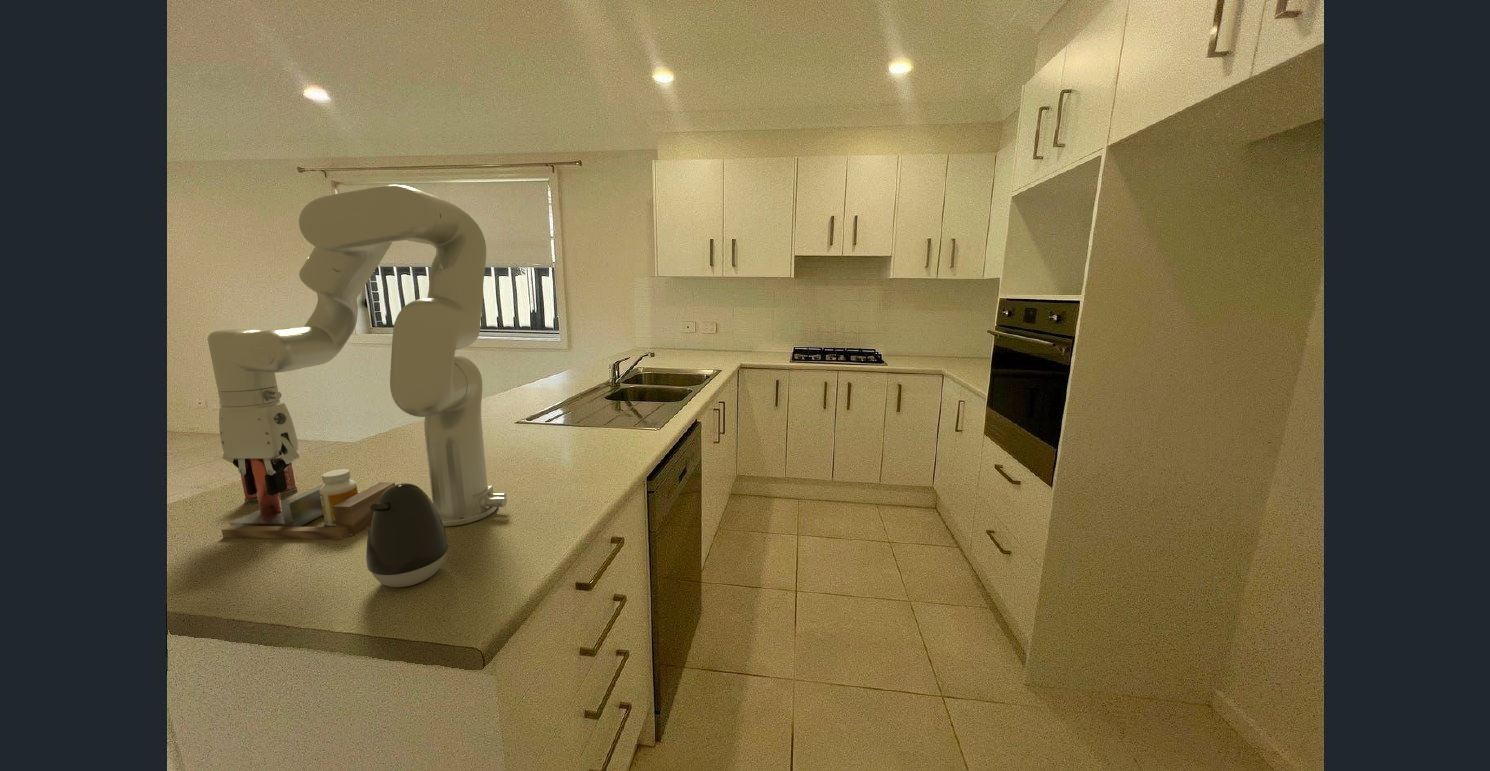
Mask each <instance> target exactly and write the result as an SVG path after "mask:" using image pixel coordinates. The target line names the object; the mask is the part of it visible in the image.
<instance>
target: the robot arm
mask: <svg viewBox="0 0 1490 771" xmlns="http://www.w3.org/2000/svg"><path fill="white" fill-rule="evenodd" d="M298 227H299V230H300V233H301V235H302V236H303V238H304V239H305V240H306V241H307V242H308V243H309V244H311V245H312V246H313V247H314V248H313V249H312V251H311V253H310V254H309V256H308V258H307V259H306V260H305V262H304V263H303V265H302V267H301V268H300V270H299V273H298V276H299V279H300V281H301V282H302V283H303V284H304V285H305V286H306V287H307V288H308V289H311V291H313V292H315V293H316V296H317V303H316V306H315V308H314V310H313V311H312V313H311V315H310V317H309V319H307V321H306V323H305V324H304V325H303V326H295V327H286V328H278V329H277V328H276V329H268V330H267V329H265V330H260V329H257V328H256V329H255V328H254V329H253V328H238V329H236V328H235V329H221V330H219V329H218V330H214V331H212V332H210V333H209V335H208V337H207V343H208V344H207V345H208V349H209V354H210V358H211V359H210V360H211V363H212V368H213V373H214V378H215V384H216V388H217V394H218V398H219V404H220V406H219V412H218V427H219V428H218V429H219V438H220V443H221V448H222V451H223V455H222V459H223V460H225V461H227V462H229V463H231V464H233V465H234V466H235V467H236V468H238V469H239V470H238V469H237V470H238V473H239V472H240V473H239V474H240V475H241V474H242V475H244V474H245V475H244V479H245V484H246V489H247V494H248V495H253V494H256V488H255V483H254V478H253V472H252V467H251V462H250V459H263V460H264V463H265V467H266V470H267V473H268V475H265V482H266V487H267V492H268V495H275V494H277V493H279V492H282V491H284V490H286V489H287V483H286V478H285V472H284V470H286V469H287V466H288V465H289V464H290V463H291V462H292V463H293V462H295V461H296V460H298V459H300V455H299V453H298V452H297V451H298V450H299V442H298V438H297V433H296V430H295V424H294V422H293V419H292V416H291V414H290V412H289V410H288V407H287V406H286V404H285V402H281V400H280V399H281V398H282V393H281V392H280V391H279V388H278V383H277V376H276V374H277V373H287V372H292V371H297V370H300V369H305V368H310V367H315V366H316V367H317V366H321V365H325V364H327V363H329V362H330V361H332V360H333V359H334V358H336V357H337V356H338V354H340V352H342V349H343V348H344V347H345V345H346V344H347V342H348V341H349V340H350V337H351V336H352V335H353V333H354V331H355V329H356V325H357V322H358V314H359V311H358V310H359V307H358V297H359V296H360V294H361V293H362V291H363V289H364V288H365V286H366V284H368V281H369V280H370V278H371V277H372V275H373V274H374V272H375V271H376V269H377V267H378V266H379V264H380V263H381V261H382V260H383V258H384V257H385V255H386V254H387V252H388V250H389V248H390V247H391V245H392V243H394V242H401V241H402V242H403V241H408V242H414V243H419V244H426V245H430V246H432V247H434V248H435V251H436V253H435V256H434V258H433V260H432V262H431V265H430V269H429V277H428V278H429V280H428V282H429V283H428V292H427V297H424V298H422V297H421V298H419V299H415V300H412V301H410V302H409V303H407V304H406V305H404V306H403V307H402V308H401V310H400V311H399V312H398V314H397V316H396V318H395V320H394V324H393V329H392V342H391V354H390V355H391V356H390V372H389V373H390V374H389V387H390V388H389V389H390V394H391V397H392V400H393V402H394V403H395V405H396V406H397V407H398V408H399V409H400V410H401V411H402V412H404V413H405V414H408V415H410V416H412V417H417V418H424V422H423V425H424V428H423V429H424V431H423V432H424V439H425V449H426V458H427V466H428V474H429V482H430V490H431V499H432V500H431V501H432V503H433V505H434V506H435V508H436V510H437V512H438V514H439V516H440V518H441V521H442V523H443V526H444V527H454V526H460V525H466V524H470V523H473V522H476V521H479V520H481V519H484V518H486V517H488V516H490V515H492V514H493V513H494V512H495V511H496V510H497V508H506V506H507V503H508V499H507V493H505V492H502V493H501V492H498V493H496V492H495V491H494V485H488V477H487V467H486V457H485V447H484V432H483V421H482V418H483V417H482V400H483V399H482V398H483V379H482V375H481V372H480V370H479V368H478V366H477V364H475V363H474V362H473V361H472V360H471V359H470V358H467V357H465V356H463V355H459V354H456V351H457V350H461V349H463V348H466V347H469V346H471V345H473V343H475V342H476V340H477V339H478V338H479V334H480V332H481V323H482V309H483V298H484V282H485V272H486V261H487V243H486V240H485V236H484V234H483V232H482V231H483V230H482V229H481V227H480V226H479V224H478V223H477V221H476V220H474V218H473V217H472V216H471V215H469V214H468V213H467V212H466V211H465V210H463V209H462V208H461V207H459V206H457V205H456V204H454V203H453V202H450V201H449V200H446V199H444V198H442V197H439V196H436V195H434V194H431V193H427V192H424V191H422V190H419V189H418V188H415V187H414V188H413V187H412V186H411V187H410V186H407V185H400V184H388V185H387V184H386V185H379V186H374V187H368V188H362V189H357V190H351V191H347V192H346V191H345V192H340V193H333V194H327V195H324V196H321V197H318V198H315V199H313V200H312V201H310V202H308V203H307V204H306V205H305V206H304V207H303V209H302V210H301V212H300V214H299V218H298ZM273 460H276V461H277V462H276V463H275V464H274V462H273Z"/></svg>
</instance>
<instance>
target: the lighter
mask: <svg viewBox="0 0 1490 771" xmlns="http://www.w3.org/2000/svg"><path fill="white" fill-rule="evenodd" d="M276 462H277V461H276V460H274V464H275V463H276ZM292 463H293V462H291V463H290V464H289V465H288V466H287V469H286V470H284V472H285V478H286V483H287V489H286V490H284V491H282V492H280V498H282V496H283V497H285V496H289V495H293V494H296V493H297V492H299V491H298V487H297V486H296V481H295V475H294V468H293V465H292ZM237 470H238V473H239V474H240V472H239V469H237ZM244 475H245V474H244ZM244 475H242V474H240V477H241V478H240V479H241V484H242V488H243V493H244V504H245V503H252V504H256V503H255V502H257V503H258V498H257V493H256V494H253V495H248V494H247V489H246V484H245V479H244Z"/></svg>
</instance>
